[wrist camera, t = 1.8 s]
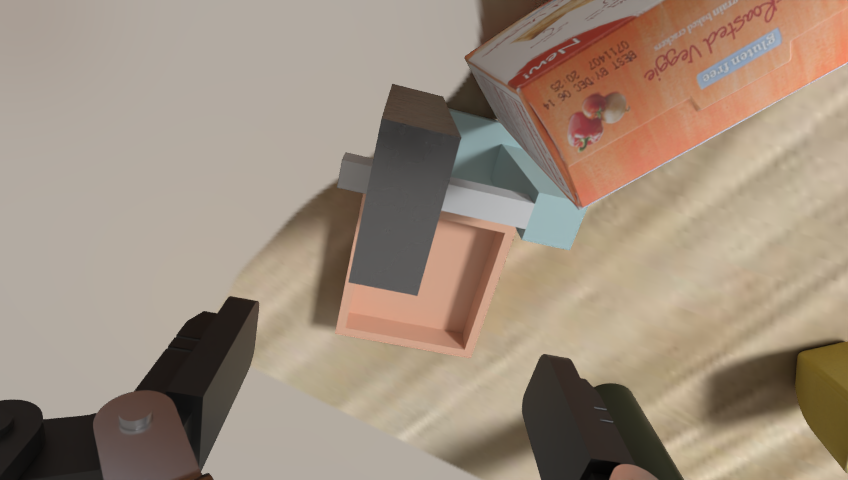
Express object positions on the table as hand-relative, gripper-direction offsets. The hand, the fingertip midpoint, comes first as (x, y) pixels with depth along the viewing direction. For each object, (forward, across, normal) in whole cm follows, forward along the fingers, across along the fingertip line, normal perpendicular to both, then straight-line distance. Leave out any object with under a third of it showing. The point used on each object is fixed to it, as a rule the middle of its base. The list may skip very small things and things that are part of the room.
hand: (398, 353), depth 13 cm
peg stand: (+27, -3, 0) cm, 27 cm away
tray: (+27, -4, +11) cm, 29 cm away
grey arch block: (+23, 0, 0) cm, 23 cm away
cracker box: (+27, -10, -10) cm, 31 cm away
